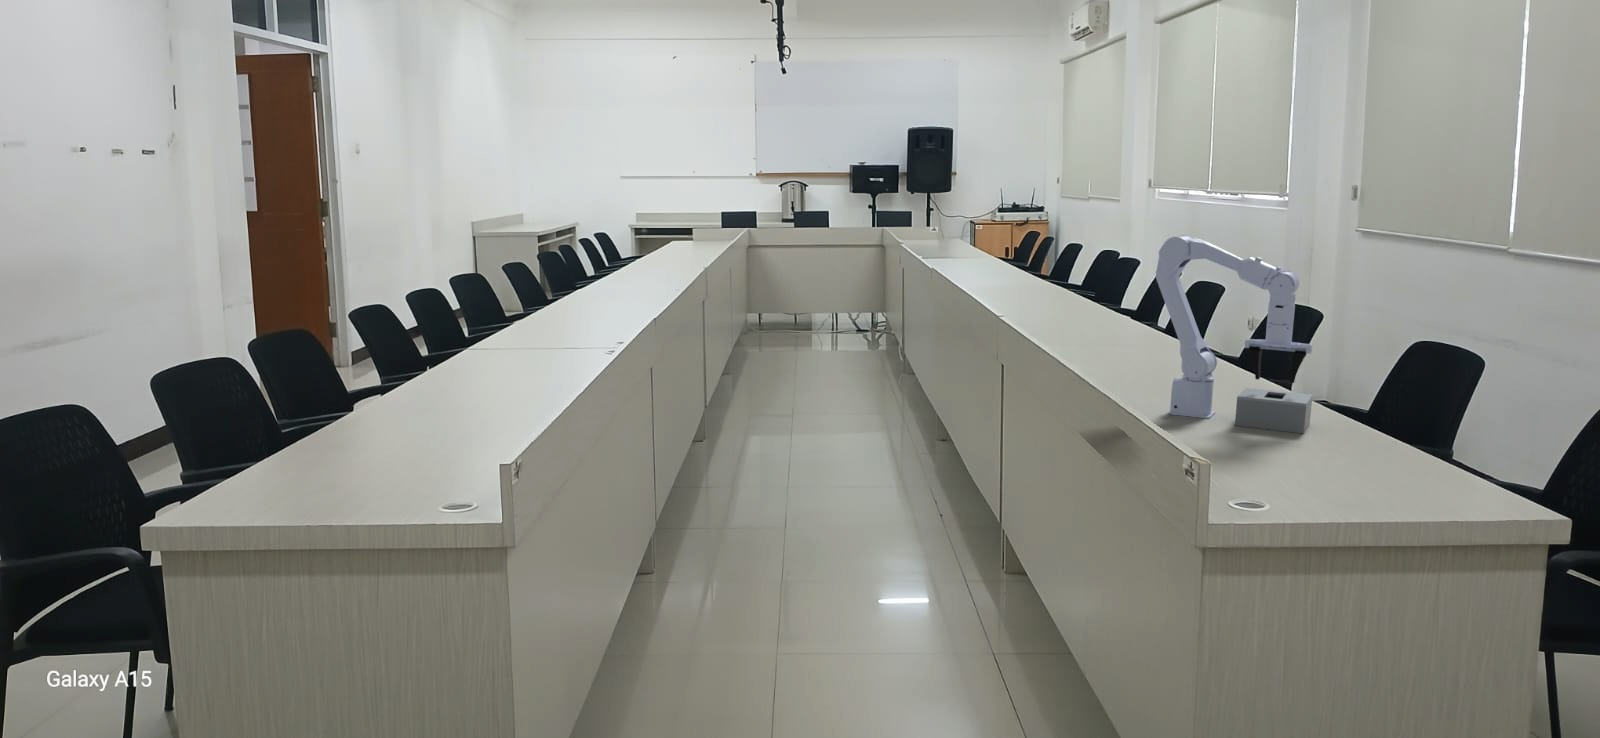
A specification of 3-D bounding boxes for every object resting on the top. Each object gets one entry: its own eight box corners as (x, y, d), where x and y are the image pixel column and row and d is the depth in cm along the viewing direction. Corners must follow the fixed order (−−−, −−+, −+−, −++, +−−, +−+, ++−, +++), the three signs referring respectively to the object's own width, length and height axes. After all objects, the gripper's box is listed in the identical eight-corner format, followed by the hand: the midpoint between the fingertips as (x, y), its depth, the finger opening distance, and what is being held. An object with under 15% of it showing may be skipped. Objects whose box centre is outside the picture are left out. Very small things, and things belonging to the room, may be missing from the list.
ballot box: (1234, 425, 273) (1237, 396, 271) (1243, 415, 283) (1245, 387, 282) (1303, 433, 265) (1306, 403, 264) (1309, 423, 276) (1312, 394, 274)
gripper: (1244, 322, 271) (1239, 379, 273) (1311, 328, 264) (1305, 386, 266) (1249, 319, 277) (1244, 375, 279) (1315, 324, 270) (1309, 381, 272)
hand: (1274, 380), depth 273 cm, fingers open, 7 cm apart
